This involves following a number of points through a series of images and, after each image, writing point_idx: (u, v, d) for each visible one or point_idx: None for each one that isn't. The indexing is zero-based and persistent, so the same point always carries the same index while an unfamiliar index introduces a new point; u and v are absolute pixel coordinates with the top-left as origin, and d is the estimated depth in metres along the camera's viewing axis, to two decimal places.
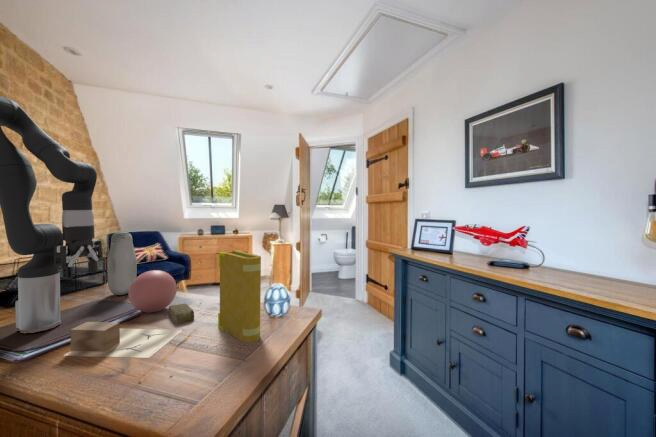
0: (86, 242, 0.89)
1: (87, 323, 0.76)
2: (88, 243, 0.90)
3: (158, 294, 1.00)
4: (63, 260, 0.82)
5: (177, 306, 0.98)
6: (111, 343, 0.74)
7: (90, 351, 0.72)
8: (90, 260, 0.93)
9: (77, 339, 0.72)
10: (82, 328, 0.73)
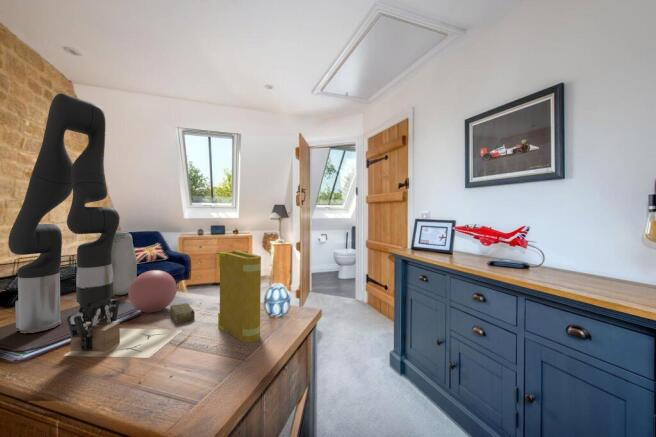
0: (103, 302, 0.76)
1: (87, 323, 0.76)
2: (105, 302, 0.76)
3: (158, 295, 1.00)
4: (81, 332, 0.69)
5: (178, 306, 0.98)
6: (111, 343, 0.74)
7: (90, 351, 0.72)
8: None
9: (77, 339, 0.72)
10: None
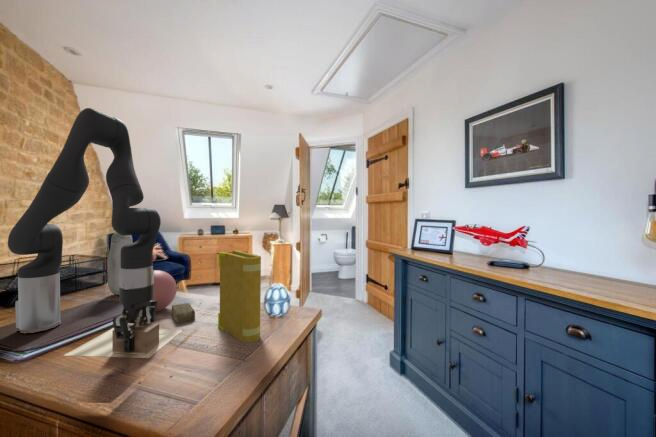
0: (144, 303, 0.75)
1: None
2: (146, 304, 0.76)
3: (158, 295, 1.00)
4: (126, 333, 0.69)
5: (179, 306, 0.98)
6: (152, 344, 0.74)
7: (132, 352, 0.72)
8: None
9: (118, 340, 0.72)
10: None
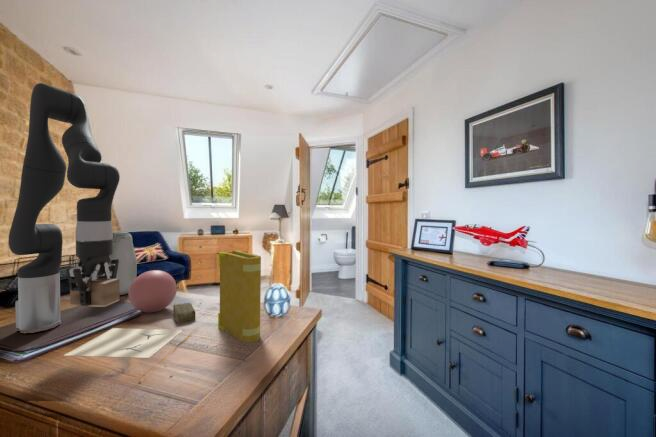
0: (103, 259, 0.75)
1: None
2: (105, 260, 0.76)
3: (158, 294, 1.00)
4: (80, 285, 0.69)
5: (181, 305, 0.99)
6: (111, 298, 0.74)
7: (90, 305, 0.72)
8: None
9: (76, 292, 0.72)
10: None
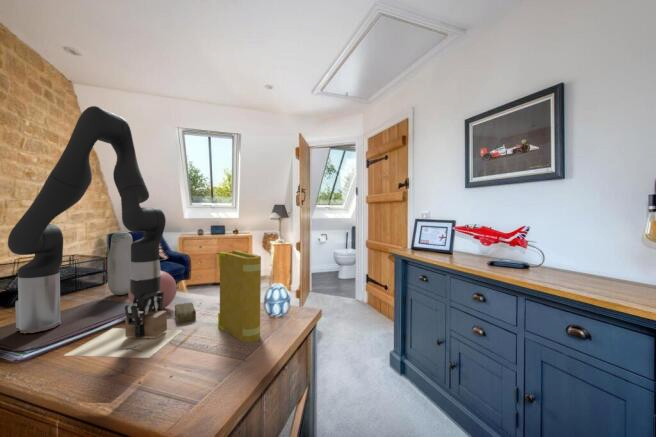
0: (152, 293, 0.83)
1: (138, 311, 0.84)
2: (153, 294, 0.84)
3: None
4: (136, 320, 0.77)
5: (182, 305, 0.99)
6: (161, 329, 0.82)
7: (143, 336, 0.80)
8: None
9: (131, 325, 0.80)
10: None
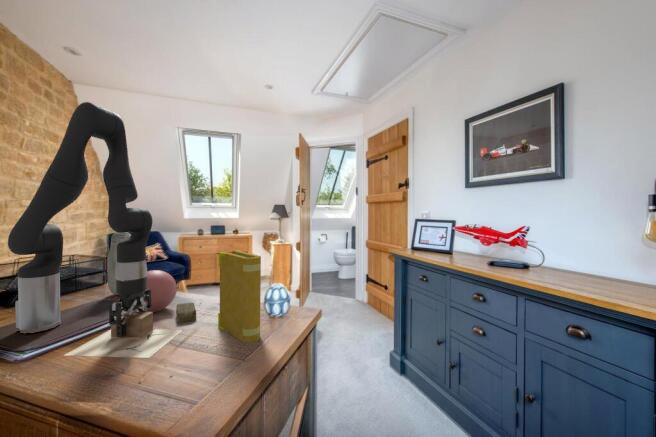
0: (138, 294, 0.84)
1: None
2: (140, 294, 0.84)
3: (158, 295, 1.00)
4: (118, 318, 0.76)
5: (183, 305, 0.99)
6: (146, 330, 0.82)
7: (128, 337, 0.80)
8: (140, 311, 0.87)
9: None
10: None
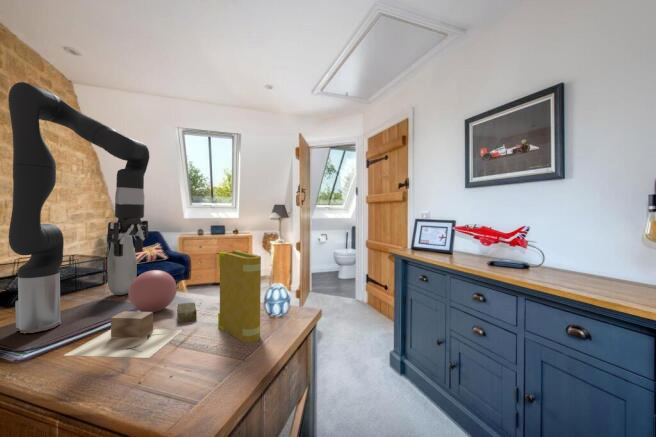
0: (136, 221, 0.89)
1: (124, 312, 0.84)
2: (137, 222, 0.90)
3: (158, 294, 1.00)
4: (116, 237, 0.82)
5: (184, 305, 0.99)
6: (146, 330, 0.82)
7: (128, 337, 0.80)
8: (137, 239, 0.93)
9: (116, 326, 0.80)
10: (121, 316, 0.81)
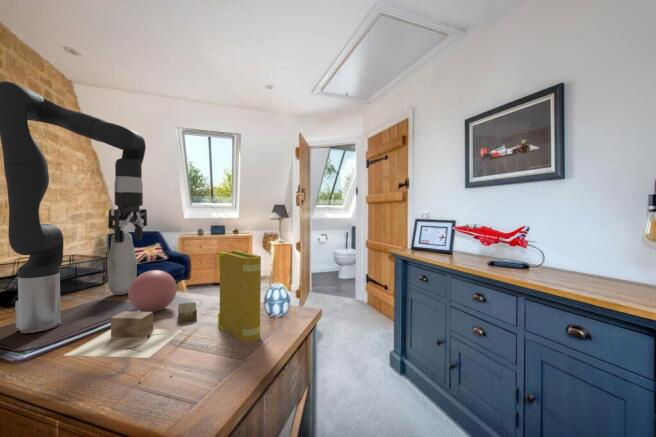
0: (135, 209, 0.93)
1: (124, 312, 0.84)
2: (136, 210, 0.93)
3: (158, 294, 1.00)
4: (117, 223, 0.85)
5: (185, 305, 0.99)
6: (146, 330, 0.82)
7: (128, 337, 0.80)
8: (136, 227, 0.96)
9: (116, 326, 0.80)
10: (121, 316, 0.81)
